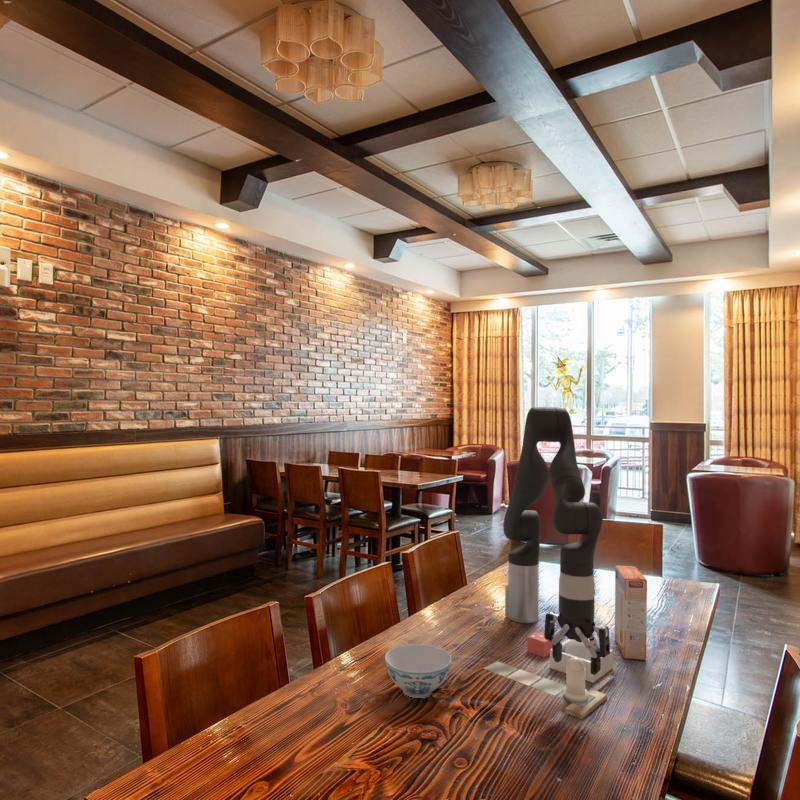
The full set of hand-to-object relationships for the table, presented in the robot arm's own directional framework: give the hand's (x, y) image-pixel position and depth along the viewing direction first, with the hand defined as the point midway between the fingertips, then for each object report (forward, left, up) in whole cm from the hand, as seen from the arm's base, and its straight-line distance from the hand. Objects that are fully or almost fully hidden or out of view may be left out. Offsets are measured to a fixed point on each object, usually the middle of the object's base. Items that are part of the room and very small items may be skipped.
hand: (575, 667), depth 126 cm
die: (-18, +16, -7) cm, 25 cm away
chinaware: (-28, -21, -8) cm, 36 cm away
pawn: (0, 0, -6) cm, 6 cm away
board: (-10, 0, -7) cm, 12 cm away
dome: (-6, +14, -7) cm, 17 cm away
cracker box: (-3, +37, -8) cm, 38 cm away
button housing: (-6, +14, -7) cm, 17 cm away
